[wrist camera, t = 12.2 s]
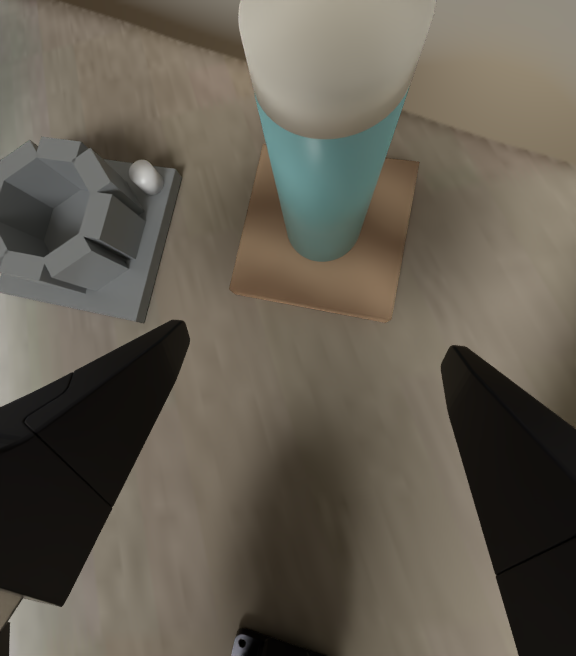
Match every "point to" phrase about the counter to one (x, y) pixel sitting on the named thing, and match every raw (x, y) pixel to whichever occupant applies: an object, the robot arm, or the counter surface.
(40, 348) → the counter surface
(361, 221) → the ball
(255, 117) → the counter surface
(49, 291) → the housing
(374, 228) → the board
